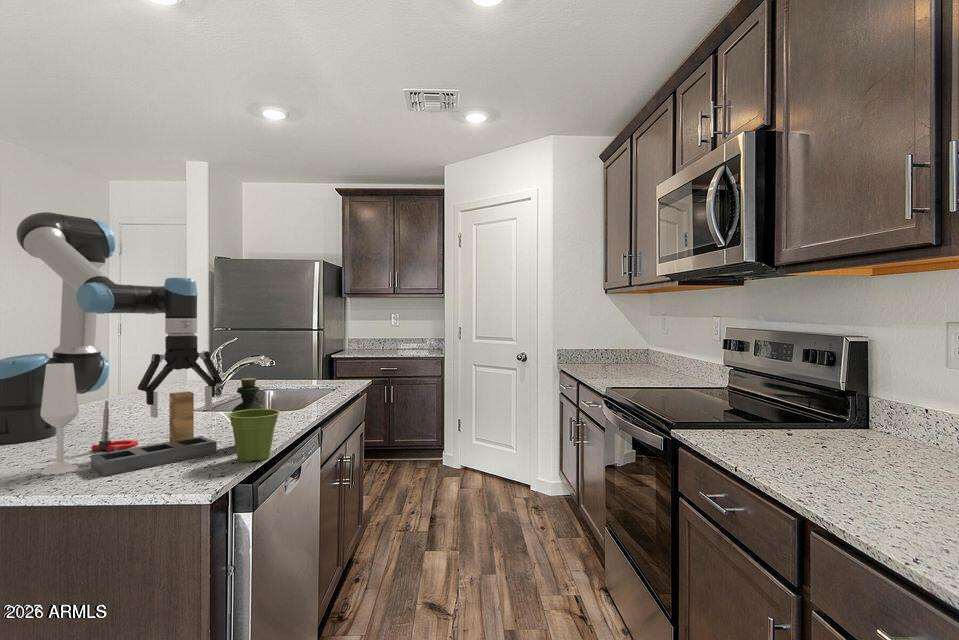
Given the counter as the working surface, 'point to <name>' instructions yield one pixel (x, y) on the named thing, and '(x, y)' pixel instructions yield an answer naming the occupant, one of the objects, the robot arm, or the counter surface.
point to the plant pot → (253, 432)
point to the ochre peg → (181, 415)
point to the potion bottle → (248, 395)
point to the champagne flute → (59, 408)
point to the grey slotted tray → (152, 455)
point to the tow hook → (105, 442)
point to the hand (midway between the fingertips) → (182, 413)
